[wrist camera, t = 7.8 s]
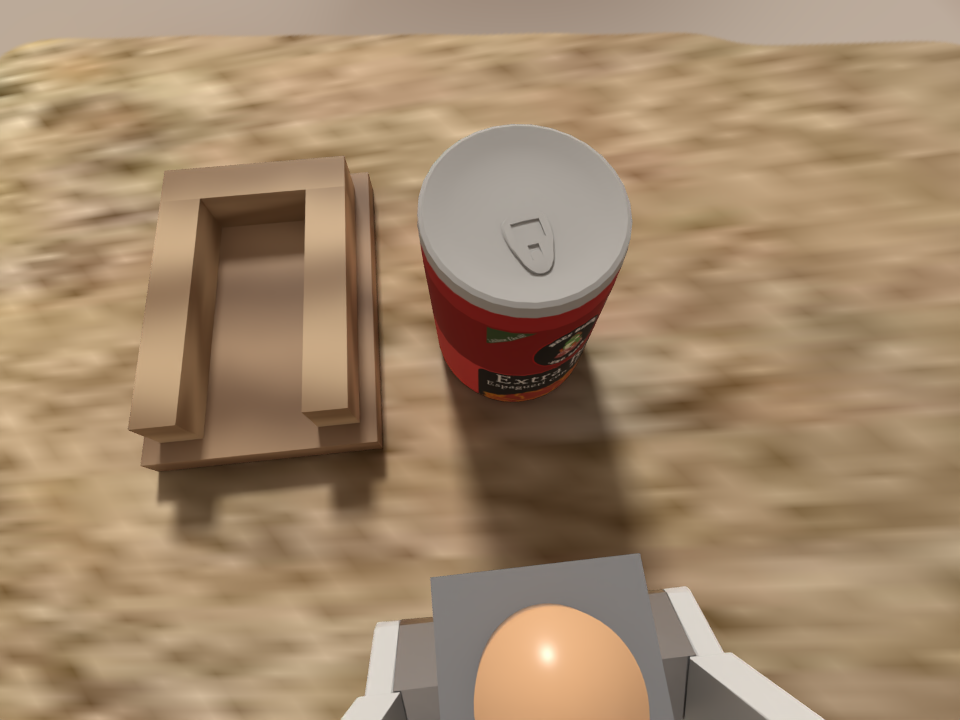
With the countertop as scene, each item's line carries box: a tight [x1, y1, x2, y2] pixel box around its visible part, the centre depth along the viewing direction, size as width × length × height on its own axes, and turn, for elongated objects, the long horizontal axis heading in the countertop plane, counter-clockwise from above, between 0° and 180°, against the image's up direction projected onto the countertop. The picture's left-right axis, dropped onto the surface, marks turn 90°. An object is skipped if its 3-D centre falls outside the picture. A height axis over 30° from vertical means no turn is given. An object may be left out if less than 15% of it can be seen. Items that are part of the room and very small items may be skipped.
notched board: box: [128, 156, 383, 472], centre depth 28 cm, size 16×11×4 cm
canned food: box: [417, 124, 632, 402], centre depth 24 cm, size 8×8×11 cm
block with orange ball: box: [430, 553, 674, 720], centre depth 12 cm, size 4×4×9 cm
